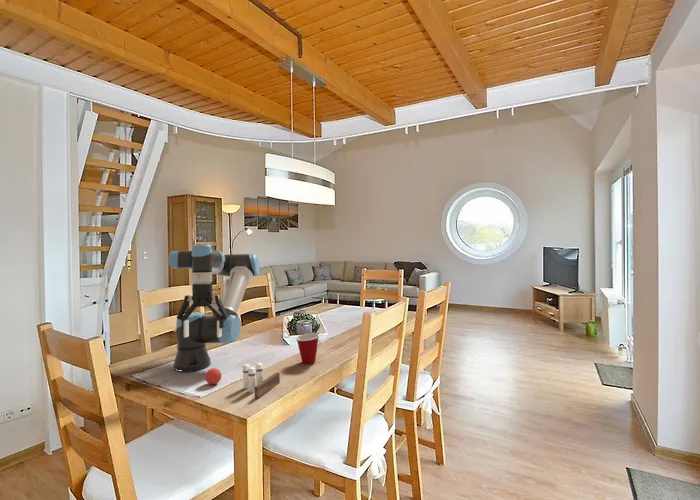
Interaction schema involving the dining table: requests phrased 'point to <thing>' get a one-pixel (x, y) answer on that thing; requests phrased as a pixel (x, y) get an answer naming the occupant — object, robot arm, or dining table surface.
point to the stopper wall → (267, 385)
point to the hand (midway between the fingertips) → (202, 336)
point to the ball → (213, 376)
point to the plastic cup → (308, 347)
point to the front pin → (245, 376)
